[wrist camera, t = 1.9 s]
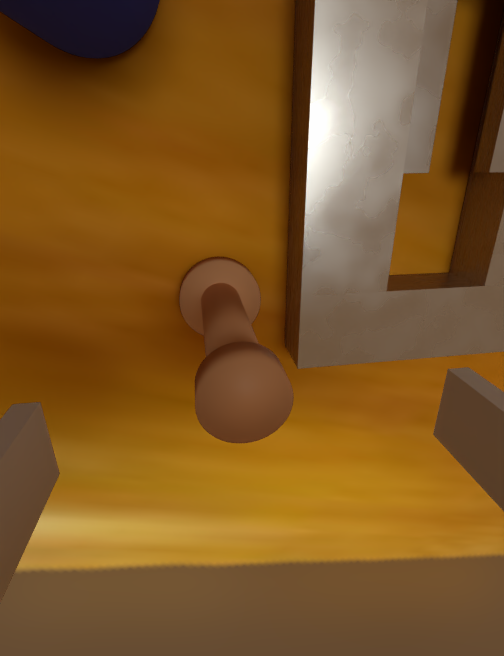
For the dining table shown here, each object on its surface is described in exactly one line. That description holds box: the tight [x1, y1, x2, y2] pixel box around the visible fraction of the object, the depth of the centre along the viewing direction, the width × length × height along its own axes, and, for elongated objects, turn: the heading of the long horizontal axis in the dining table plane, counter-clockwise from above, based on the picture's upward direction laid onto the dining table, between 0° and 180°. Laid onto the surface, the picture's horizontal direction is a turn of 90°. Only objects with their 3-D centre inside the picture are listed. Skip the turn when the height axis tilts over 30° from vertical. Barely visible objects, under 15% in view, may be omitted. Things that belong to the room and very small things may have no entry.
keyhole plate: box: [285, 0, 504, 369], centre depth 21 cm, size 26×17×3 cm, turn 1°
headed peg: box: [180, 257, 293, 443], centre depth 18 cm, size 5×5×12 cm
